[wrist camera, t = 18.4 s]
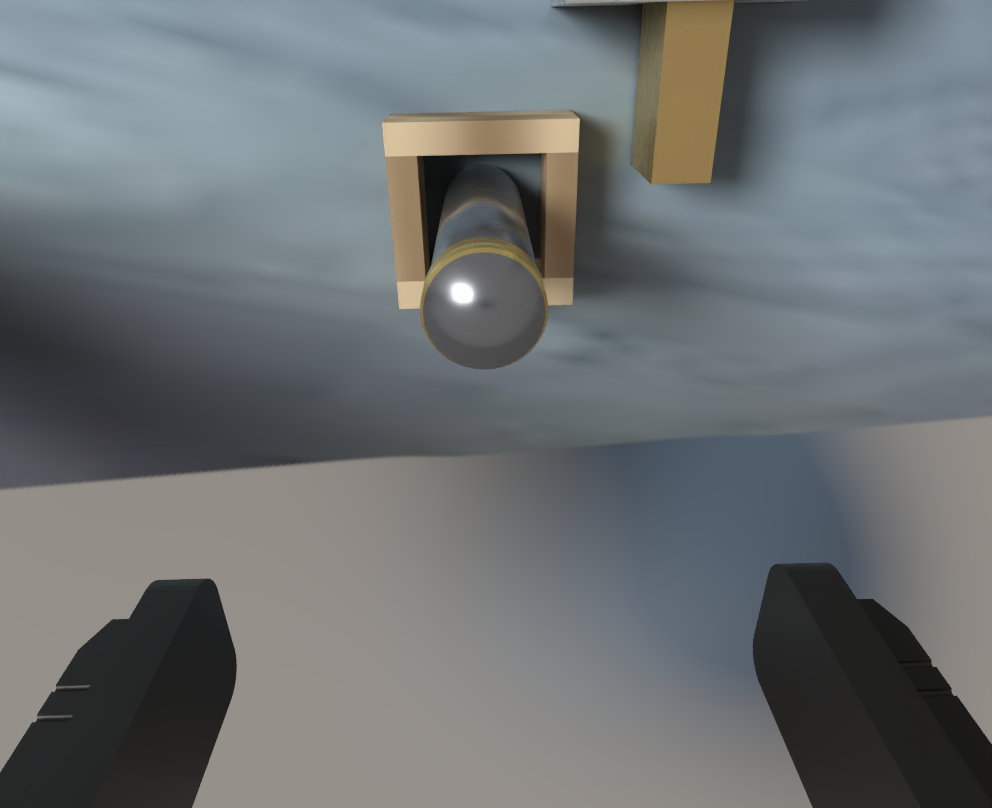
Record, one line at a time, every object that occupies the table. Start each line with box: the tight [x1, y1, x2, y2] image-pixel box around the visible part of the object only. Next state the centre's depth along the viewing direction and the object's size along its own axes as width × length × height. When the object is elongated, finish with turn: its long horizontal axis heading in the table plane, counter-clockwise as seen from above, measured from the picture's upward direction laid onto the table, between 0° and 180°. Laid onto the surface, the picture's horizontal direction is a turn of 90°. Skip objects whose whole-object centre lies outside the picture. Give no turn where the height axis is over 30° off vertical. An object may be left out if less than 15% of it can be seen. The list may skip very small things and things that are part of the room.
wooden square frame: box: [382, 110, 580, 309], centre depth 31 cm, size 8×8×3 cm
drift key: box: [631, 0, 734, 184], centre depth 27 cm, size 2×9×4 cm, turn 1°
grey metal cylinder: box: [420, 164, 548, 369], centre depth 26 cm, size 4×4×14 cm
